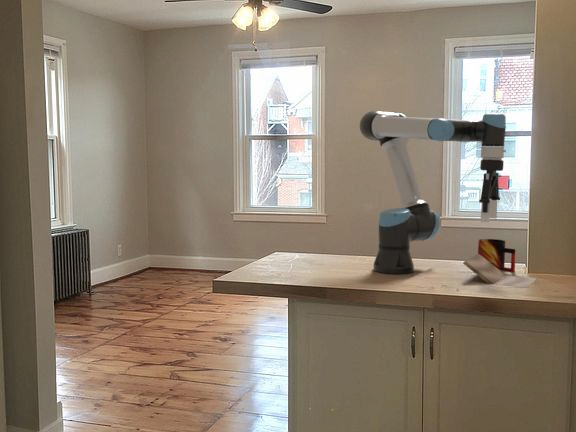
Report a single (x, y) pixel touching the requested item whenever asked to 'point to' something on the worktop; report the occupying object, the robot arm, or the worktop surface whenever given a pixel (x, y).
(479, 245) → the mug
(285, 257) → the worktop surface
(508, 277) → the laid plank
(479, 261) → the plank
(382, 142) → the robot arm
